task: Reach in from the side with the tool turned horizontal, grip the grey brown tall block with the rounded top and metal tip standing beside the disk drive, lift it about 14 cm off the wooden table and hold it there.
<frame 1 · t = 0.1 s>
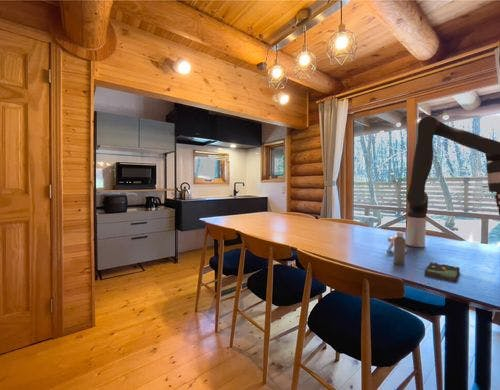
disk drive: (442, 275, 105), on the table
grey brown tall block: (399, 264, 116), on the table
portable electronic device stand: (395, 253, 135), on the table
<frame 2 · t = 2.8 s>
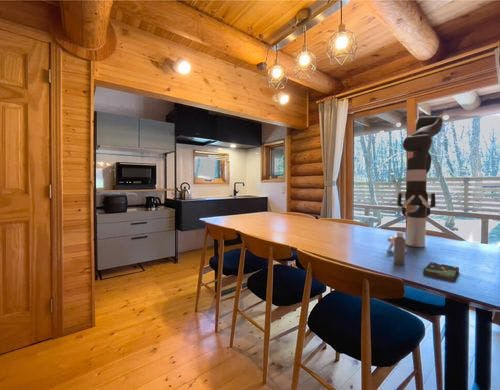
hand: (415, 216, 113), 23 cm above the table, tool pointing down, fingers open, 8 cm apart
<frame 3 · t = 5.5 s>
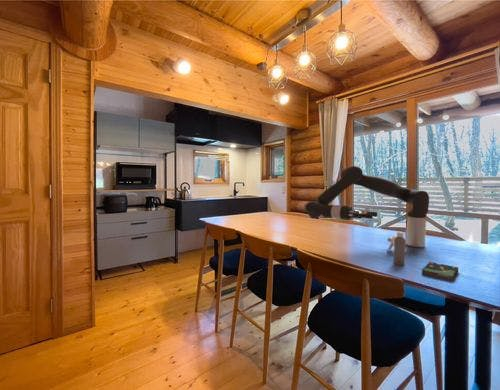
hand: (374, 215, 122), 22 cm above the table, tool horizontal, fingers open, 8 cm apart
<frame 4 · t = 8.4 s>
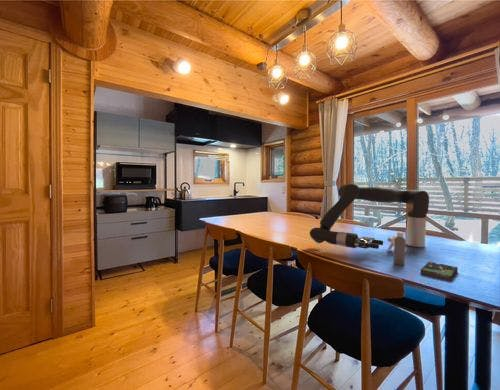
hand: (380, 244, 121), 8 cm above the table, tool horizontal, fingers open, 8 cm apart
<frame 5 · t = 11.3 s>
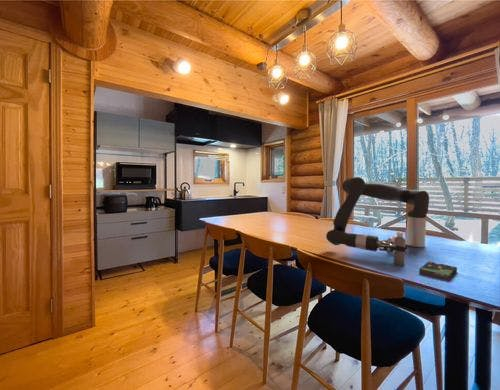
hand: (406, 248, 114), 8 cm above the table, tool horizontal, fingers closed on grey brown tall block, 4 cm apart
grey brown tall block: (399, 264, 117), on the table, touching gripper
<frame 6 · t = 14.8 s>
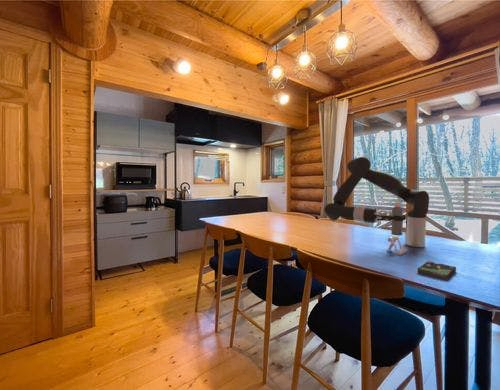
hand: (404, 218, 114), 22 cm above the table, tool horizontal, fingers closed on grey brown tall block, 4 cm apart
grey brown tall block: (396, 234, 116), point 14 cm above the table, touching gripper
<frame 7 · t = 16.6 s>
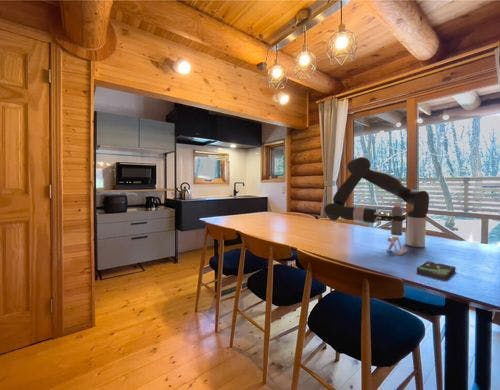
hand: (403, 218, 114), 22 cm above the table, tool horizontal, fingers closed on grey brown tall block, 4 cm apart
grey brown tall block: (396, 234, 116), point 14 cm above the table, touching gripper
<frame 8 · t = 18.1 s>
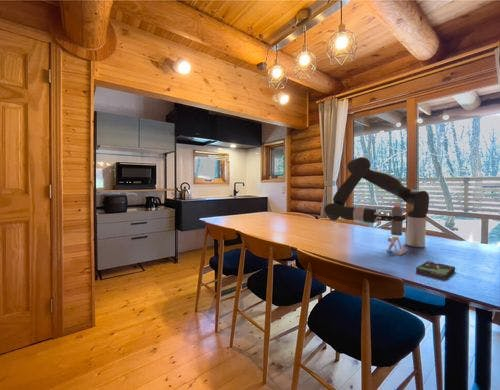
hand: (403, 218, 114), 22 cm above the table, tool horizontal, fingers closed on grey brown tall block, 4 cm apart
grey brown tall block: (396, 234, 116), point 14 cm above the table, touching gripper
at the end: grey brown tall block point 13.9 cm above the table; the gripper is holding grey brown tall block; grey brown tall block tilted 0° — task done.
